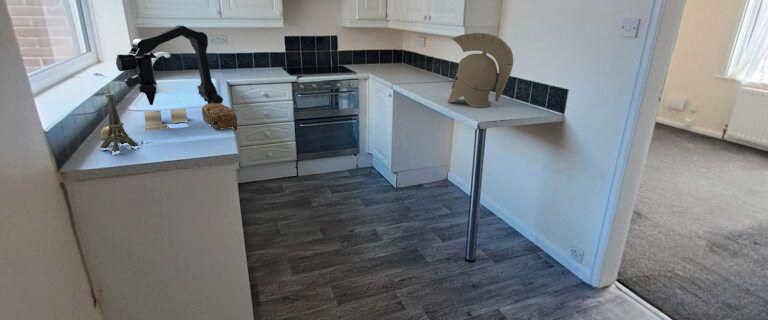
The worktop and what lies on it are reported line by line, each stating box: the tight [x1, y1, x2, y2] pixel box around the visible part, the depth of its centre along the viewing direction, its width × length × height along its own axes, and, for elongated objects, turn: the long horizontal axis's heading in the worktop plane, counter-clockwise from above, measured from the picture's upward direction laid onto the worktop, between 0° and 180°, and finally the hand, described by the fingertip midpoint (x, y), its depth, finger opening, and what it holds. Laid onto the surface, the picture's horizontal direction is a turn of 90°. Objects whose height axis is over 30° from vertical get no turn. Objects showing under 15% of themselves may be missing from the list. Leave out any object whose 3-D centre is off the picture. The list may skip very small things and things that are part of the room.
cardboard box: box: [144, 123, 174, 132], centre depth 188 cm, size 9×17×2 cm, turn 116°
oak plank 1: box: [143, 110, 163, 126], centre depth 192 cm, size 8×6×2 cm
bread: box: [201, 103, 238, 131], centre depth 193 cm, size 19×11×10 cm, turn 35°
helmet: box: [447, 32, 514, 108], centre depth 246 cm, size 20×36×40 cm, turn 64°
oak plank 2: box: [170, 108, 189, 124], centre depth 196 cm, size 8×6×2 cm
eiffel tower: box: [99, 82, 139, 152], centre depth 159 cm, size 11×11×25 cm
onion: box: [100, 123, 122, 140], centre depth 171 cm, size 8×8×7 cm
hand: (151, 104), depth 192 cm, fingers closed
